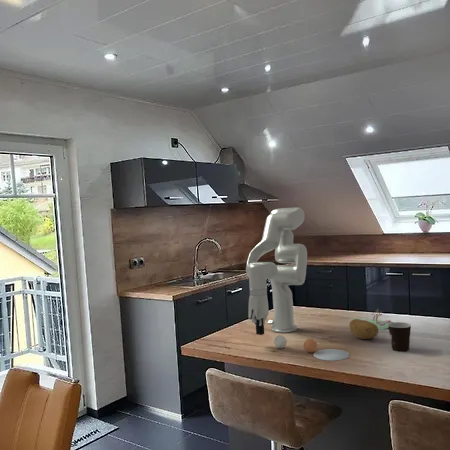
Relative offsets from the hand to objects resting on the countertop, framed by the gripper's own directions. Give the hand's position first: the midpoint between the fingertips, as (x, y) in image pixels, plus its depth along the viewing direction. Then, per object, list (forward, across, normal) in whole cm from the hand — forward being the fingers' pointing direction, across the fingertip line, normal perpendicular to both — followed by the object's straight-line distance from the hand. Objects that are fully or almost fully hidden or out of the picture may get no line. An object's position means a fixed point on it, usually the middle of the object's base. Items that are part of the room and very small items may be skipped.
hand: (260, 334), depth 209 cm
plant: (+4, -54, +30) cm, 62 cm away
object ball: (+3, -1, +23) cm, 24 cm away
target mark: (+5, -1, +32) cm, 33 cm away
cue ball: (+3, -1, +9) cm, 10 cm away
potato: (+5, -28, +36) cm, 46 cm away
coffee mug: (+5, -20, +54) cm, 58 cm away
